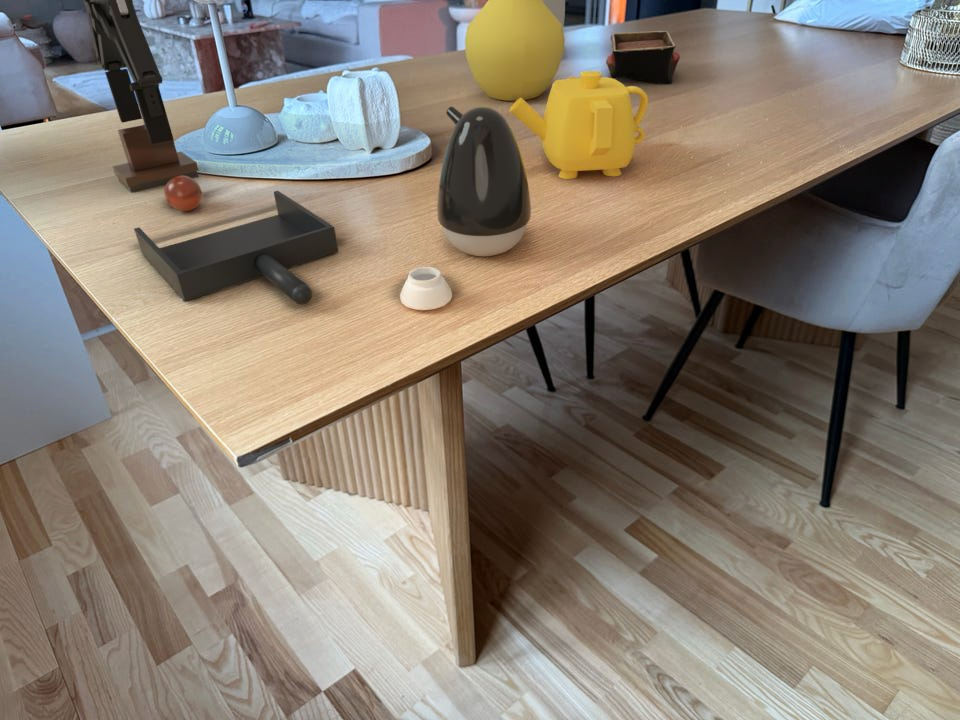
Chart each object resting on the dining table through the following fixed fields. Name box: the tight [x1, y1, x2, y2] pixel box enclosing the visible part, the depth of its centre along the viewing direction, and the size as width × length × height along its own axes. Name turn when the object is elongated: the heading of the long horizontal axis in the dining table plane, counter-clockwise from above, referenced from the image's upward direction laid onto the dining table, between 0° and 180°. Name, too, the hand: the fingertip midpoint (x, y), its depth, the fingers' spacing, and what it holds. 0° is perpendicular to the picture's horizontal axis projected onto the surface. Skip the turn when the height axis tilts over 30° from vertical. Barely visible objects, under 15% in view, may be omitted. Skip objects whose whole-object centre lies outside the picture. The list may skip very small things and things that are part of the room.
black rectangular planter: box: [605, 30, 681, 85], centre depth 141 cm, size 14×18×10 cm
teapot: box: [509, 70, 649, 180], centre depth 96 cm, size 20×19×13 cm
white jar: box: [399, 266, 453, 311], centre depth 68 cm, size 5×3×5 cm
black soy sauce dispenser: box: [436, 106, 532, 257], centre depth 74 cm, size 10×10×15 cm
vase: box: [464, 0, 566, 102], centre depth 125 cm, size 18×18×30 cm
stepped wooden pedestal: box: [112, 124, 199, 194], centre depth 95 cm, size 6×9×8 cm
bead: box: [163, 175, 203, 212], centre depth 89 cm, size 4×4×4 cm
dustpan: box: [133, 190, 339, 305], centre depth 74 cm, size 25×17×3 cm
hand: (146, 130), depth 93 cm, fingers open, 13 cm apart
